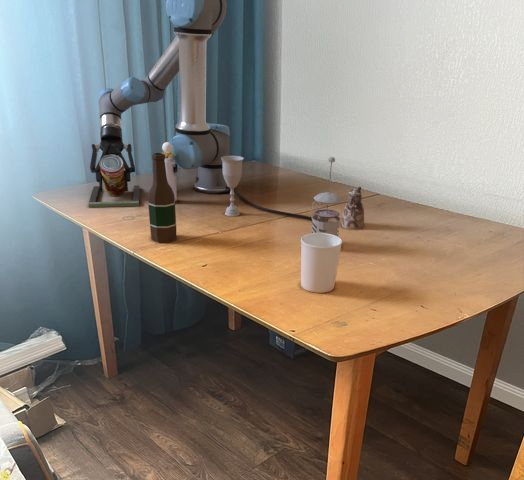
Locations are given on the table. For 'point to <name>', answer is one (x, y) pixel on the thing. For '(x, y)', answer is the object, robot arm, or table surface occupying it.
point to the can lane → (94, 202)
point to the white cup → (319, 261)
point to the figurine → (353, 210)
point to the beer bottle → (161, 203)
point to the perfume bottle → (170, 166)
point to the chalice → (232, 179)
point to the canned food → (113, 175)
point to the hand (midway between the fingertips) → (113, 189)
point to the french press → (326, 211)
